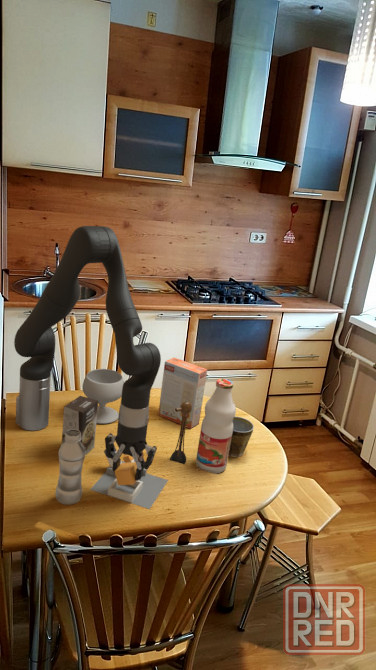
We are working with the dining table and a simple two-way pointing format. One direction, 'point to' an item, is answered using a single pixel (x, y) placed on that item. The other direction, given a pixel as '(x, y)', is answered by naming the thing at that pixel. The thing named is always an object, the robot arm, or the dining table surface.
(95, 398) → the chalice
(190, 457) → the dining table surface
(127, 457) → the block
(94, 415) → the coffee box
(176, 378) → the cracker box
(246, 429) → the ceramic cup
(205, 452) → the fruit juice
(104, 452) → the breaker
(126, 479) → the orange cube
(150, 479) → the panel
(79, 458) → the plastic bottle
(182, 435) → the wooden tabletop sculpture
